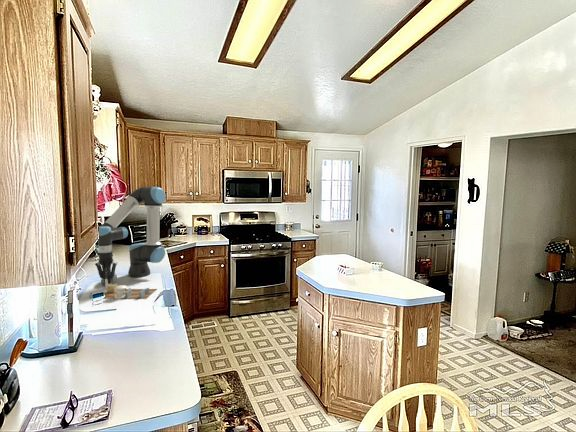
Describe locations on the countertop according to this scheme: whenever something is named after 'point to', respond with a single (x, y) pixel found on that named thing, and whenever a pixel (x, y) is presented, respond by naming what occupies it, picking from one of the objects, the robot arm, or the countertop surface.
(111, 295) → the board
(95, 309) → the countertop surface
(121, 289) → the bobbin
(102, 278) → the spool
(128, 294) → the notch block
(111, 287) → the tab
